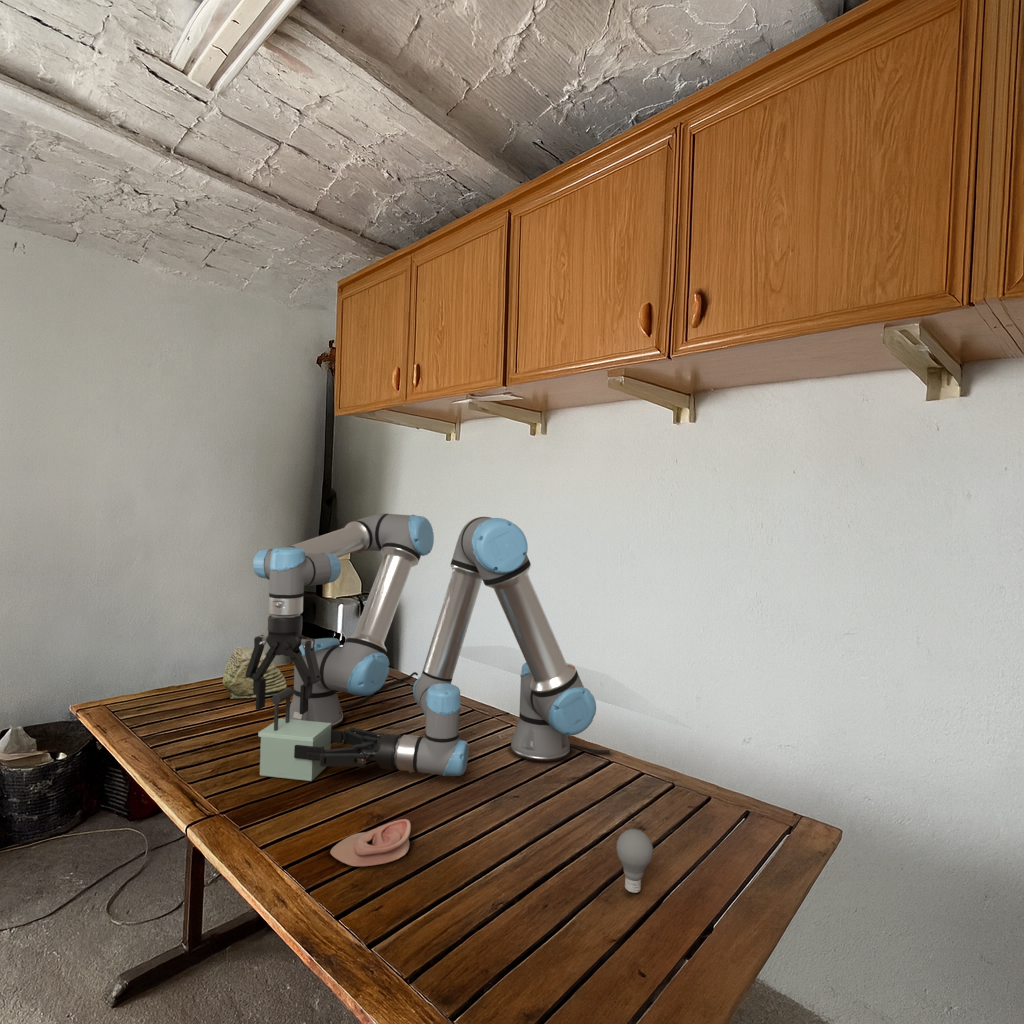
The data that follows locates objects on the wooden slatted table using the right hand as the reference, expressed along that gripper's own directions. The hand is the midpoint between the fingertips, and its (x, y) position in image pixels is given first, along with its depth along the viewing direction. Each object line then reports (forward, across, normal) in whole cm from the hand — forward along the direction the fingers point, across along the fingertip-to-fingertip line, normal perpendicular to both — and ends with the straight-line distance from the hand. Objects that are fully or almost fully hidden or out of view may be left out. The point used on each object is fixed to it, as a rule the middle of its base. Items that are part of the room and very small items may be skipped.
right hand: (305, 742), depth 146 cm
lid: (+3, 0, +2) cm, 3 cm away
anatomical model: (-27, -28, -6) cm, 39 cm away
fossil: (+40, +47, -6) cm, 62 cm away
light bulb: (-73, -30, -6) cm, 79 cm away
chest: (+2, 0, -6) cm, 7 cm away
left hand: (+6, 0, +7) cm, 9 cm away
